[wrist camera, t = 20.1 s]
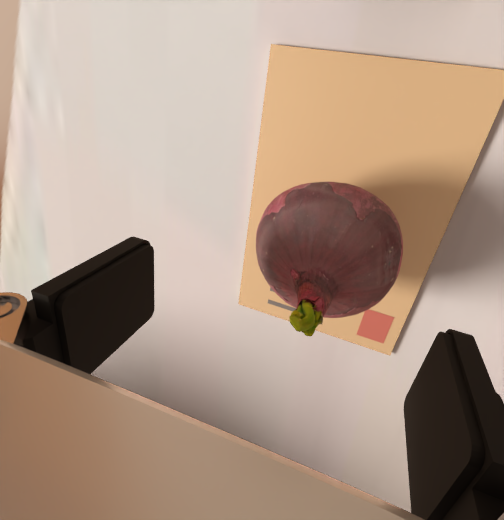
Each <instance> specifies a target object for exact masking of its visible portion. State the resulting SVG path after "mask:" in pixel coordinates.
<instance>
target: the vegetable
mask: <svg viewBox="0 0 504 520" xmlns="http://www.w3.org/2000/svg"><path fill="white" fill-rule="evenodd" d="M256 255H257V260H258V265H259V267H260V270H261V272H262V274H263V276H264V278H265V280H266V281H267V283H268V284H269V286H270V287H271V288H272V289H273V291H274V292H275V293H276V294H277V295H278V296H279V297H280V298H281V299H283V300H284V301H285V302H286V303H287V304H289V305H291V306H293V307H295V308H296V309H295V310H294V311H293V312H292V313H291V316H290V317H289V319H290V323H291V324H292V326H293V327H294V328H295V329H296V331H299V332H300V331H302V332H303V333H304V334H305V335H306V336H312V335H313V333H314V331H315V329H316V327H317V326H318V325H319V324H322V323H323V317H324V318H342V317H347V316H352V315H357V314H359V313H361V312H364V311H366V310H368V309H370V308H371V307H373V306H375V305H376V304H378V303H379V302H380V301H381V300H382V299H383V298H384V297H385V296H386V294H387V293H388V292H389V291H390V289H391V288H392V286H393V285H394V283H395V281H396V279H397V276H398V274H399V272H400V267H401V262H402V256H403V238H402V233H401V229H400V225H399V223H398V220H397V218H396V216H395V215H394V213H393V212H392V210H391V209H390V208H389V206H388V205H386V204H385V203H384V202H383V201H382V200H380V199H379V198H378V197H377V196H375V195H374V194H372V193H370V192H368V191H366V190H365V189H363V188H361V187H358V186H354V185H351V184H347V183H339V182H329V181H328V182H314V183H306V184H301V185H298V186H295V187H292V188H290V189H288V190H286V191H284V192H282V193H281V194H279V195H278V196H277V197H276V198H274V199H273V200H272V201H271V203H270V204H269V205H268V206H267V208H266V209H265V211H264V213H263V215H262V217H261V220H260V223H259V225H258V228H257V232H256Z"/></svg>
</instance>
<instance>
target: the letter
mask: <svg viewBox="0 0 504 520" xmlns="http://www.w3.org/2000/svg"><path fill="white" fill-rule="evenodd" d="M503 99H504V70H499V69H490V68H481V67H472V66H463V65H454V64H445V63H436V62H427V61H418V60H409V59H400V58H391V57H382V56H373V55H364V54H355V53H346V52H337V51H328V50H319V49H309V48H300V47H291V46H282V45H273V44H271V49H270V57H269V65H268V73H267V81H266V89H265V97H264V105H263V113H262V121H261V128H260V136H259V144H258V152H257V160H256V168H255V176H254V184H253V192H252V200H251V208H250V216H249V224H248V232H247V240H246V248H245V256H244V264H243V272H242V280H241V288H240V296H239V304H240V305H243V306H246V307H249V308H252V309H255V310H258V311H261V312H264V313H267V314H270V315H272V316H275V317H278V318H281V319H284V320H287V321H290V319H289V317H290V316H291V313H292V312H293V311H294V310H295V309H296V308H295V307H293V306H291V305H289V304H287V303H286V302H285V301H284V300H283V299H281V298H280V297H279V296H278V295H277V294H276V293H275V292H274V291H273V289H272V288H271V287H270V286H269V284H268V283H267V281H266V280H265V278H264V276H263V274H262V272H261V270H260V267H259V265H258V260H257V255H256V232H257V228H258V225H259V223H260V220H261V217H262V215H263V213H264V211H265V209H266V208H267V206H268V205H269V204H270V203H271V201H272V200H273V199H274V198H276V197H277V196H278V195H279V194H281V193H282V192H284V191H286V190H288V189H290V188H292V187H295V186H298V185H301V184H306V183H314V182H328V181H329V182H339V183H347V184H351V185H354V186H358V187H361V188H363V189H365V190H366V191H368V192H370V193H372V194H374V195H375V196H377V197H378V198H379V199H380V200H382V201H383V202H384V203H385V204H386V205H388V206H389V208H390V209H391V210H392V212H393V213H394V215H395V216H396V218H397V220H398V223H399V225H400V229H401V233H402V238H403V256H402V262H401V267H400V272H399V274H398V276H397V279H396V281H395V283H394V285H393V286H392V288H391V289H390V291H389V292H388V293H387V294H386V296H385V297H384V298H383V299H382V300H381V301H380V302H379V303H378V304H376V305H375V306H373V307H371V308H370V309H368V310H366V311H364V312H361V313H359V314H357V315H352V316H347V317H342V318H324V317H323V323H322V324H319V325H318V326H317V327H316V329H315V330H317V331H320V332H322V333H325V334H328V335H331V336H334V337H337V338H340V339H343V340H346V341H349V342H352V343H355V344H358V345H361V346H364V347H367V348H370V349H372V350H375V351H378V352H381V353H384V354H387V355H390V354H391V352H392V350H393V348H394V345H395V343H396V341H397V339H398V336H399V334H400V332H401V329H402V327H403V325H404V323H405V320H406V318H407V316H408V314H409V311H410V309H411V307H412V305H413V302H414V300H415V298H416V296H417V293H418V291H419V289H420V287H421V284H422V282H423V280H424V278H425V275H426V273H427V271H428V269H429V266H430V264H431V262H432V260H433V257H434V255H435V253H436V251H437V248H438V246H439V244H440V242H441V239H442V237H443V235H444V233H445V230H446V228H447V226H448V224H449V221H450V219H451V217H452V214H453V212H454V210H455V208H456V205H457V203H458V201H459V199H460V196H461V194H462V192H463V190H464V187H465V185H466V183H467V181H468V178H469V176H470V174H471V172H472V169H473V167H474V165H475V163H476V160H477V158H478V156H479V154H480V151H481V149H482V147H483V145H484V142H485V140H486V138H487V136H488V133H489V131H490V129H491V127H492V124H493V122H494V120H495V118H496V115H497V113H498V111H499V109H500V106H501V104H502V102H503Z"/></svg>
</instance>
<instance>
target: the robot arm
mask: <svg viewBox="0 0 504 520" xmlns="http://www.w3.org/2000/svg"><path fill="white" fill-rule="evenodd" d="M31 292H32V296H33V299H32V300H30V301H29V302H27V299H26V298H25V297H24V296H22V295H20V294H17V293H12V292H3V293H0V520H504V403H503V401H502V399H501V397H500V395H499V394H497V393H496V392H495V390H494V387H493V385H492V382H491V379H490V377H489V374H488V372H487V369H486V367H485V364H484V362H483V359H482V357H481V354H480V352H479V349H478V347H477V344H476V341H475V339H474V337H473V336H472V335H469V334H465V333H462V332H458V331H455V330H452V329H449V330H447V331H446V333H444V332H439V333H438V335H437V336H436V338H435V340H434V342H433V344H432V346H431V348H430V350H429V352H428V354H427V356H426V358H425V360H424V362H423V364H422V366H421V368H420V370H419V372H418V374H417V376H416V378H415V380H414V382H413V384H412V386H411V388H410V390H409V392H408V394H407V396H406V398H405V402H404V418H405V432H406V445H407V459H408V472H409V486H410V500H411V513H410V512H408V511H405V510H403V509H401V508H399V507H396V506H394V505H392V504H390V503H388V502H385V501H383V500H381V499H379V498H376V497H374V496H372V495H370V494H368V493H365V492H363V491H361V490H359V489H356V488H354V487H352V486H350V485H348V484H345V483H343V482H341V481H339V480H336V479H334V478H332V477H329V476H327V475H325V474H322V473H320V472H318V471H316V470H313V469H311V468H309V467H306V466H304V465H302V464H299V463H297V462H295V461H292V460H290V459H288V458H285V457H283V456H281V455H278V454H276V453H274V452H271V451H269V450H267V449H265V448H262V447H260V446H258V445H255V444H253V443H251V442H248V441H246V440H244V439H241V438H239V437H237V436H234V435H232V434H230V433H227V432H225V431H223V430H220V429H218V428H216V427H213V426H211V425H209V424H206V423H204V422H202V421H199V420H197V419H194V418H192V417H190V416H187V415H185V414H183V413H180V412H178V411H176V410H173V409H171V408H169V407H166V406H164V405H161V404H159V403H157V402H154V401H152V400H150V399H147V398H145V397H143V396H140V395H138V394H136V393H133V392H131V391H128V390H126V389H124V388H121V387H119V386H116V385H114V384H112V383H109V382H107V381H104V380H102V379H100V378H97V377H95V376H92V375H90V374H91V373H92V372H93V371H94V370H95V369H96V368H97V367H98V366H99V365H101V364H102V363H103V362H104V361H105V360H106V359H107V358H108V357H109V356H110V355H111V354H112V353H113V352H115V351H116V350H117V349H118V348H119V347H120V346H121V345H122V344H123V343H124V342H125V341H126V340H127V339H128V338H130V337H131V336H132V335H133V334H134V333H135V332H136V331H137V330H138V329H139V328H140V327H141V326H142V325H144V324H145V323H146V322H147V321H148V320H149V319H150V318H151V316H152V315H153V312H154V250H153V247H152V246H150V243H149V242H148V241H147V240H143V239H140V238H136V237H130V238H128V239H126V240H125V241H123V242H121V243H119V244H117V245H115V246H113V247H111V248H110V249H108V250H106V251H104V252H102V253H100V254H98V255H96V256H95V257H93V258H91V259H89V260H87V261H85V262H83V263H81V264H80V265H78V266H76V267H74V268H72V269H70V270H68V271H66V272H65V273H63V274H61V275H59V276H57V277H55V278H53V279H52V280H50V281H48V282H46V283H44V284H42V285H40V286H38V287H37V288H35V289H33V290H31Z"/></svg>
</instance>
